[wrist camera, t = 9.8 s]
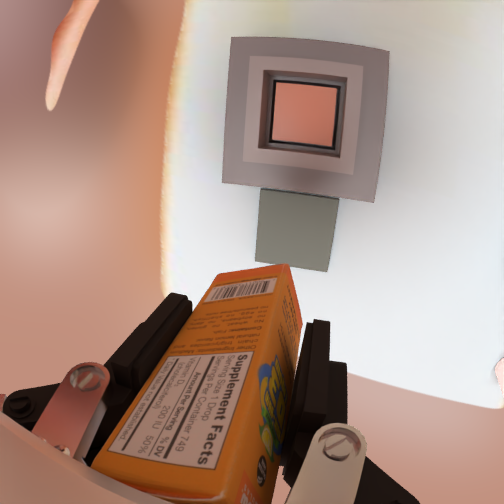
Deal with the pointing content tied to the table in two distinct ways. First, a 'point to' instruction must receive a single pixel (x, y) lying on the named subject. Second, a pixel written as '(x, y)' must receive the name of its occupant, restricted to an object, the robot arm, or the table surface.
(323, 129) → the breaker button
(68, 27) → the table surface
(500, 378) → the milkshake
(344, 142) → the frame
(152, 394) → the supplement box
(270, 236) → the rest mat
